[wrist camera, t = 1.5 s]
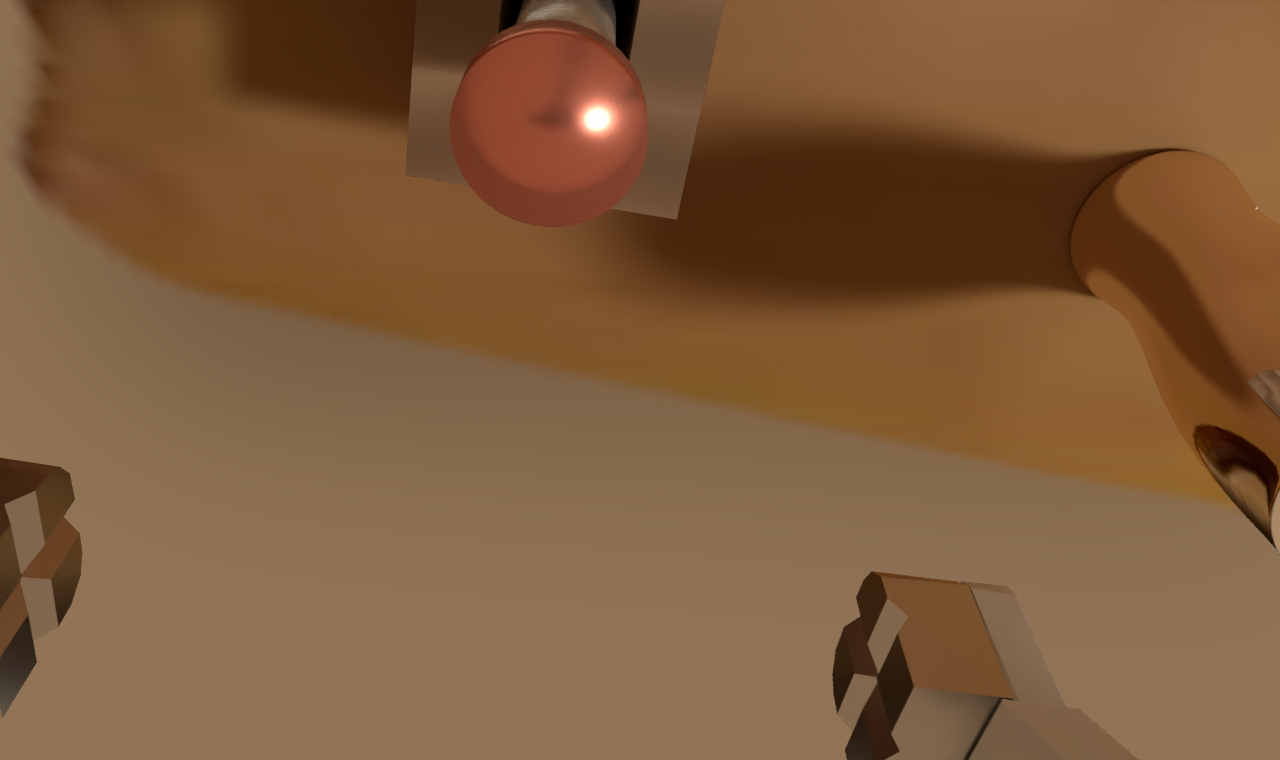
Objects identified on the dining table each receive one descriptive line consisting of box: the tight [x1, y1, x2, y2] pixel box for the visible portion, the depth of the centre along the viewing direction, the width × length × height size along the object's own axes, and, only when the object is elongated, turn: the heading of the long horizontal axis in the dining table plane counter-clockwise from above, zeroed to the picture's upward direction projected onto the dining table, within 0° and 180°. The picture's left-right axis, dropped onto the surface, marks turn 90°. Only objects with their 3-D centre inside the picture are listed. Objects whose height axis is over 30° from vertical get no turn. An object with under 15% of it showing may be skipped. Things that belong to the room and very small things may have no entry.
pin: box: [449, 0, 648, 227], centre depth 27 cm, size 4×4×14 cm
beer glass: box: [1070, 150, 1280, 555], centre depth 32 cm, size 7×7×15 cm
